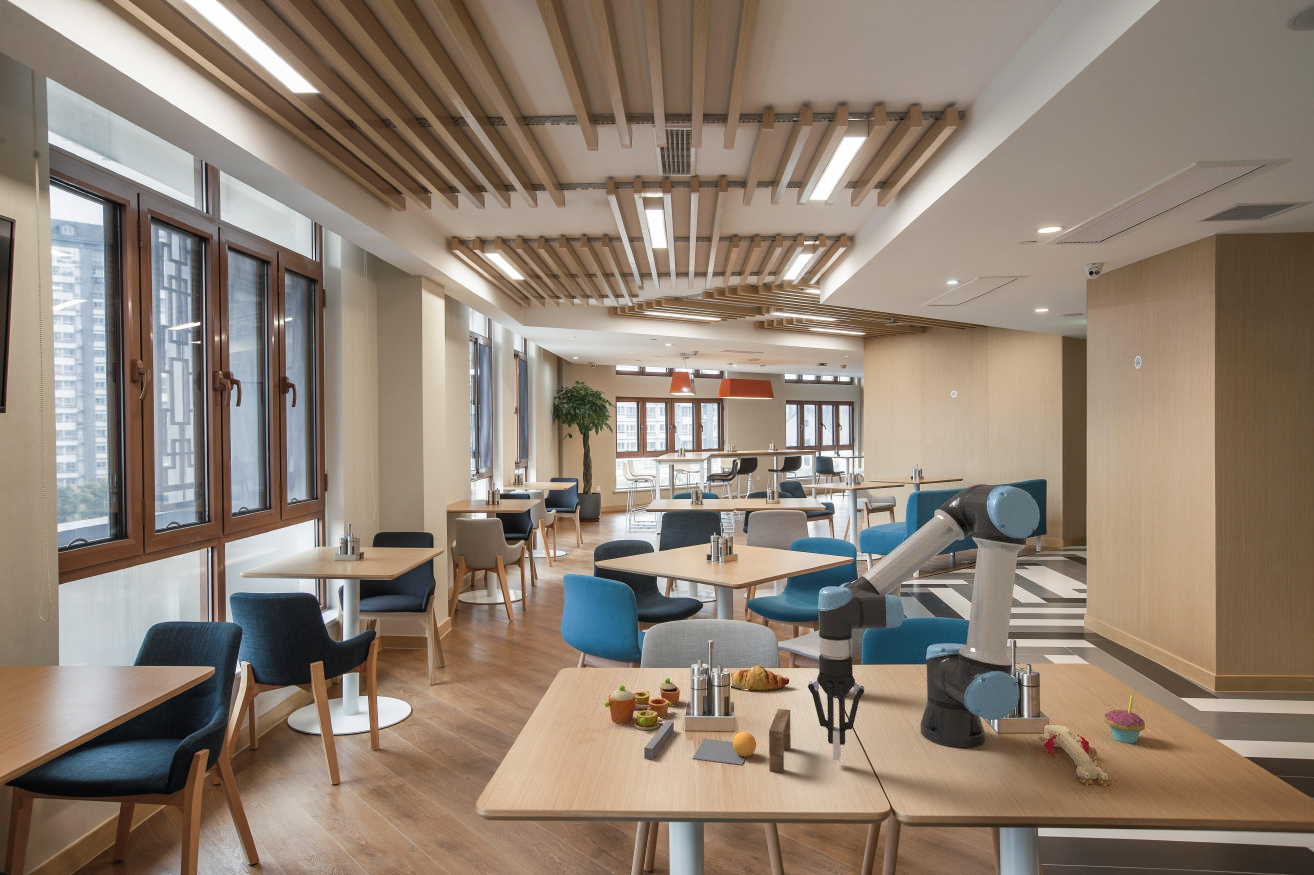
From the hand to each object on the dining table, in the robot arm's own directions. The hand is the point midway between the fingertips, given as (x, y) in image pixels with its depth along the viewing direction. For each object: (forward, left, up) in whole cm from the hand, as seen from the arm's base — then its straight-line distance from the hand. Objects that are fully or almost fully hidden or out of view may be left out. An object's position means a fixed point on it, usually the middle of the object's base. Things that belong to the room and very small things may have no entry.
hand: (836, 757), depth 163 cm
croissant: (+28, -51, -2) cm, 58 cm away
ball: (+22, +1, +1) cm, 22 cm away
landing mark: (+27, 0, -2) cm, 27 cm away
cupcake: (-68, -36, -2) cm, 77 cm away
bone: (-52, -19, -3) cm, 56 cm away
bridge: (+13, 0, -2) cm, 13 cm away
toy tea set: (+53, -20, -3) cm, 57 cm away
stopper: (+43, 0, -2) cm, 43 cm away
